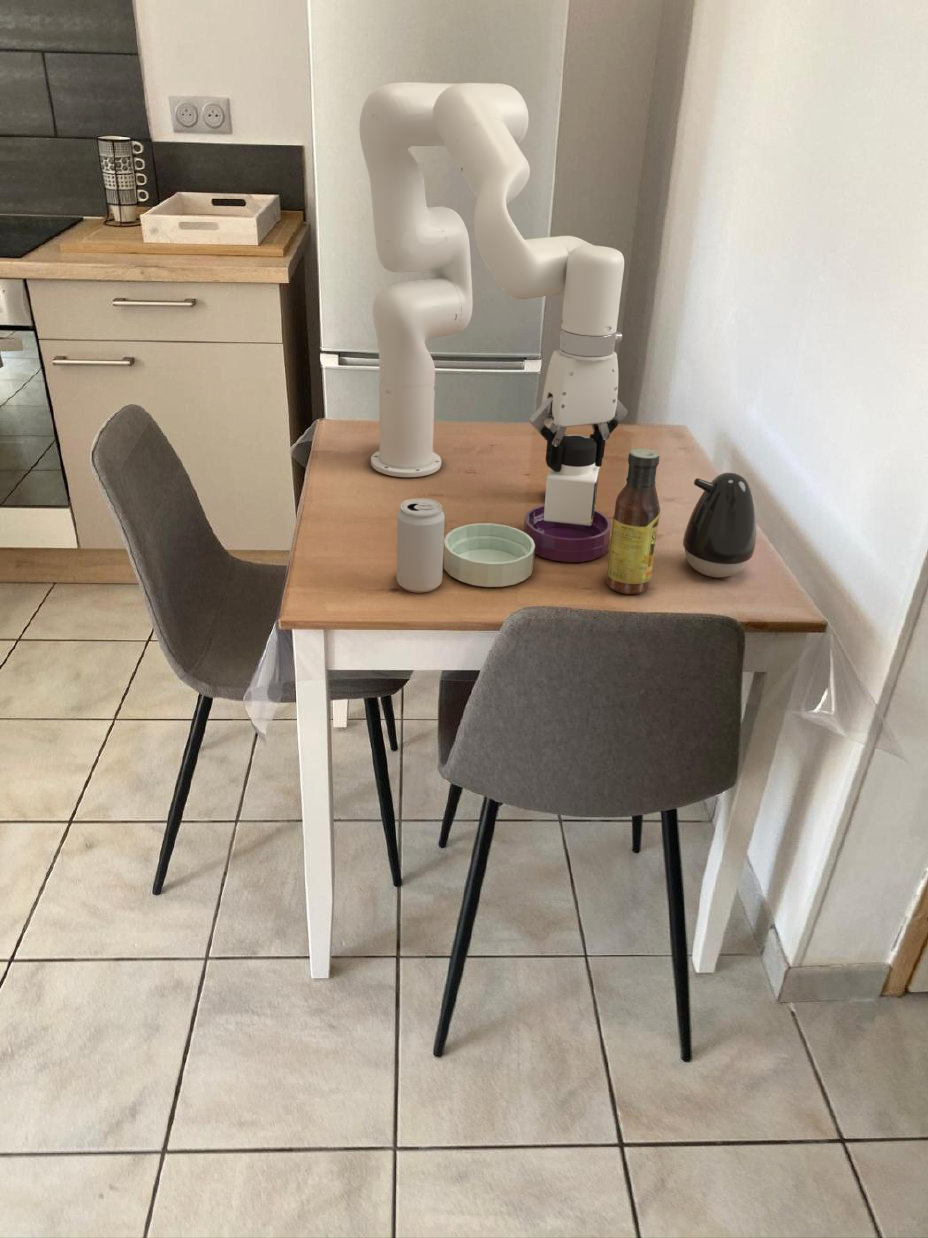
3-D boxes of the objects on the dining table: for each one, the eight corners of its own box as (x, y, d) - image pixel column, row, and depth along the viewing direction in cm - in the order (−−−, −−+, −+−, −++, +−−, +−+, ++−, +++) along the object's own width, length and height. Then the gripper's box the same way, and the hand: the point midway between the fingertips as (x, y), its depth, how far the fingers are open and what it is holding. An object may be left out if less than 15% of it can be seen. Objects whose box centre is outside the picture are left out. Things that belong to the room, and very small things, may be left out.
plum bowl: (508, 532, 150) (510, 509, 148) (581, 521, 155) (583, 498, 153) (547, 569, 140) (550, 544, 138) (623, 556, 145) (627, 532, 143)
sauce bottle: (653, 596, 134) (675, 463, 124) (609, 596, 134) (628, 462, 123) (642, 574, 140) (662, 445, 130) (600, 574, 139) (617, 444, 129)
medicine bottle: (591, 526, 141) (599, 448, 135) (543, 521, 142) (549, 443, 136) (595, 508, 147) (603, 432, 141) (549, 503, 148) (554, 428, 142)
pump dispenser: (669, 553, 146) (686, 459, 138) (735, 553, 147) (755, 460, 139) (688, 585, 137) (706, 487, 130) (758, 586, 138) (780, 488, 130)
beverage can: (395, 573, 137) (396, 495, 131) (440, 573, 137) (443, 496, 131) (397, 595, 131) (397, 515, 125) (443, 595, 132) (446, 515, 126)
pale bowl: (430, 554, 142) (430, 530, 140) (508, 541, 147) (510, 518, 145) (465, 595, 132) (466, 569, 130) (548, 580, 137) (550, 555, 135)
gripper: (626, 332, 138) (611, 450, 147) (518, 340, 131) (509, 463, 140) (655, 345, 132) (637, 468, 141) (544, 354, 125) (533, 482, 135)
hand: (574, 464), depth 141 cm, fingers closed on medicine bottle, 6 cm apart
